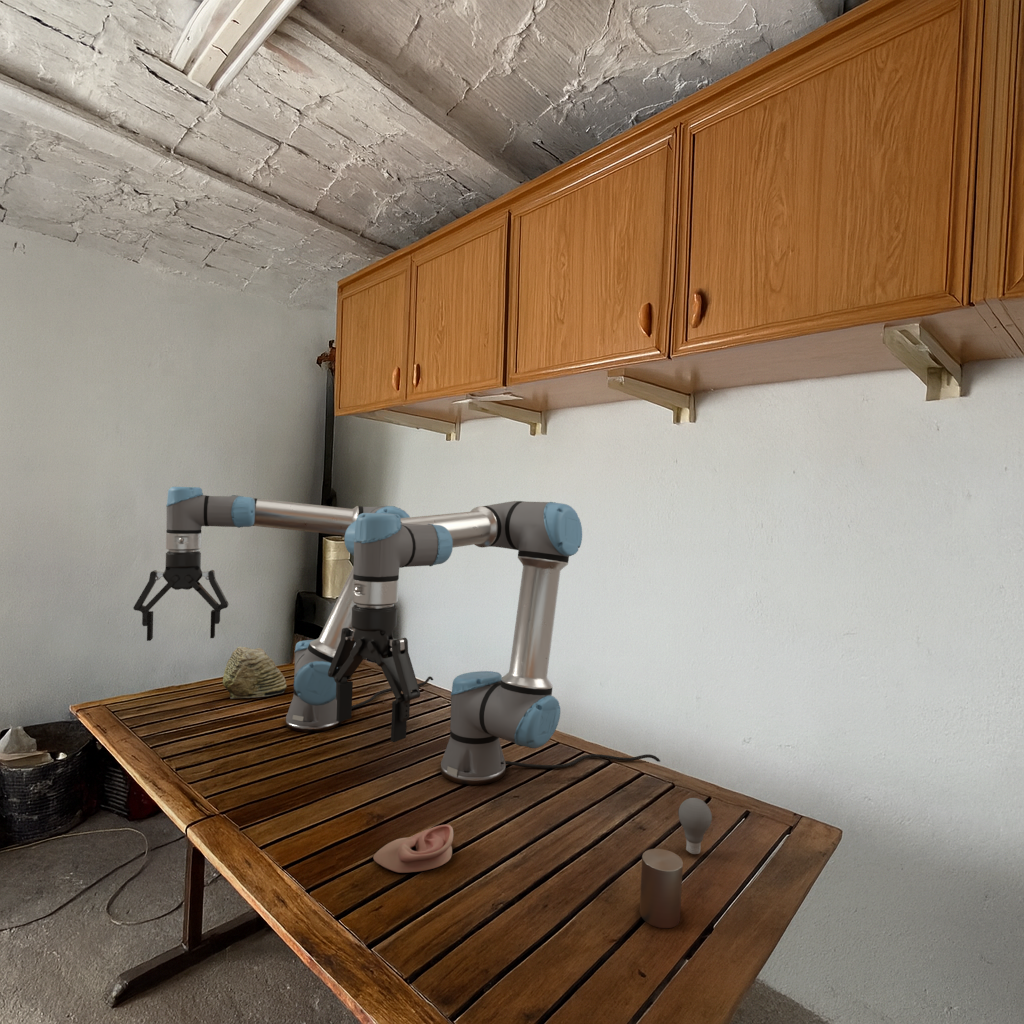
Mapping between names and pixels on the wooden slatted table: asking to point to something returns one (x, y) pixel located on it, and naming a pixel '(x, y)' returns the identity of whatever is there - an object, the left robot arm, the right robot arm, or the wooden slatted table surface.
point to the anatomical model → (417, 851)
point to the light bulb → (694, 822)
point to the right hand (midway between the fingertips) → (370, 729)
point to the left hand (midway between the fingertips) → (181, 638)
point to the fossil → (252, 674)
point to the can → (661, 888)
